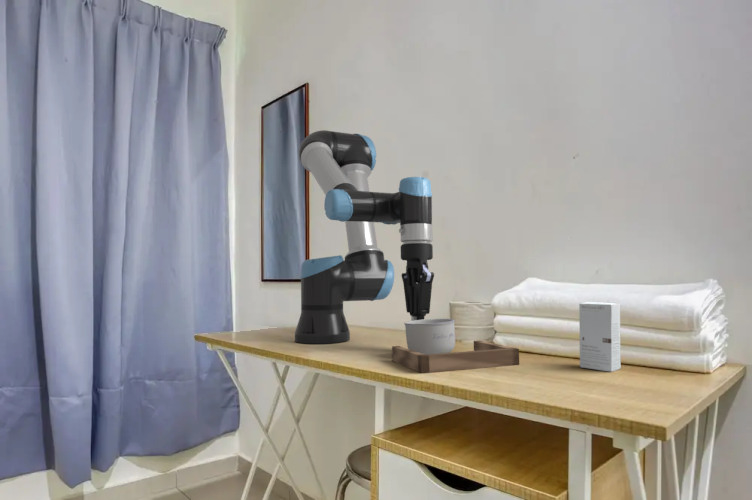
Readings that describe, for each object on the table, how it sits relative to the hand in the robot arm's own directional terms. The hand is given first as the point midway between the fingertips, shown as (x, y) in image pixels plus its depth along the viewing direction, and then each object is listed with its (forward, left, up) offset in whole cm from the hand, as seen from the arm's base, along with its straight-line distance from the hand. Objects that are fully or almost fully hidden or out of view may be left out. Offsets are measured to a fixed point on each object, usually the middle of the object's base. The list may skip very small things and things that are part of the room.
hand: (418, 344), depth 113 cm
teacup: (+7, 0, -2) cm, 8 cm away
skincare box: (+33, +21, -2) cm, 39 cm away
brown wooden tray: (+16, 0, -2) cm, 17 cm away
